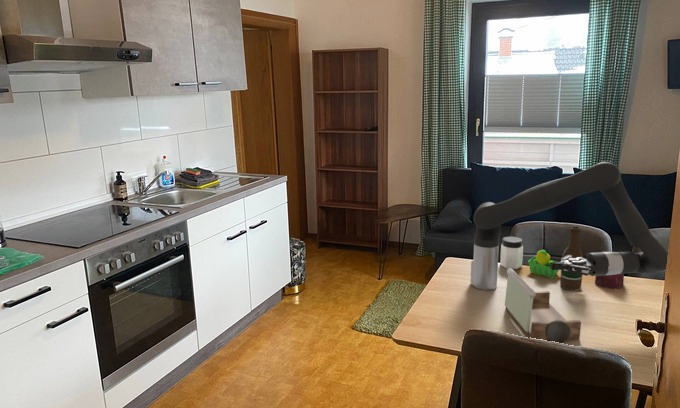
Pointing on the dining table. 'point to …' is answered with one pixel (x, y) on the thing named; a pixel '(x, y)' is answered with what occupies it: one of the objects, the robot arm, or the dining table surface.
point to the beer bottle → (573, 249)
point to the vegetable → (610, 281)
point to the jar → (511, 252)
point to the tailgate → (519, 299)
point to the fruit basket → (542, 264)
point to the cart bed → (550, 321)
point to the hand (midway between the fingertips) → (551, 266)
